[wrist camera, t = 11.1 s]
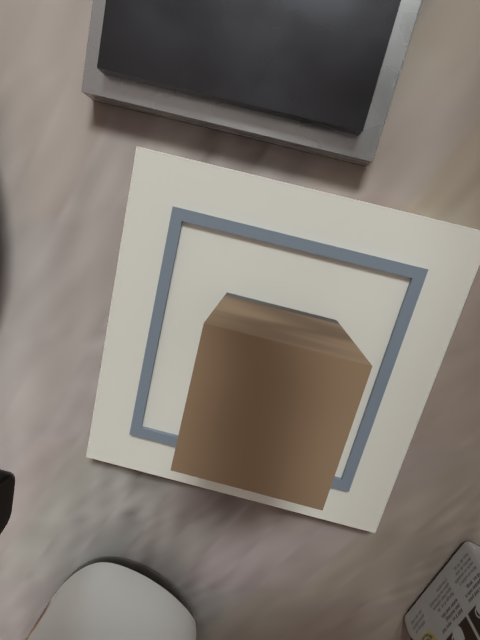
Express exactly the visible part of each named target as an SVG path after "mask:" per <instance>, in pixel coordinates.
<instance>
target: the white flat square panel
mask: <svg viewBox="0 0 480 640" xmlns="http://www.w3.org/2000/svg"><path fill="white" fill-rule="evenodd" d="M479 265H480V230H477V229H473V228H469V227H465V226H461V225H457V224H453V223H449V222H445V221H441V220H437V219H432V218H428V217H424V216H420V215H416V214H412V213H408V212H404V211H400V210H396V209H391V208H387V207H383V206H379V205H375V204H371V203H367V202H363V201H359V200H355V199H351V198H346V197H342V196H338V195H334V194H330V193H326V192H322V191H318V190H314V189H310V188H306V187H301V186H297V185H293V184H289V183H285V182H281V181H277V180H273V179H269V178H265V177H260V176H256V175H252V174H248V173H244V172H240V171H236V170H232V169H228V168H224V167H220V166H215V165H211V164H207V163H203V162H199V161H195V160H191V159H187V158H183V157H179V156H175V155H170V154H166V153H162V152H158V151H154V150H150V149H146V148H142V147H138V146H137V147H136V154H135V160H134V166H133V172H132V178H131V184H130V190H129V197H128V203H127V209H126V215H125V221H124V227H123V234H122V240H121V246H120V252H119V258H118V264H117V270H116V277H115V283H114V289H113V295H112V301H111V307H110V314H109V320H108V326H107V332H106V338H105V344H104V351H103V357H102V363H101V369H100V375H99V381H98V387H97V394H96V400H95V406H94V412H93V418H92V424H91V431H90V437H89V443H88V449H87V455H86V457H88V458H92V459H96V460H100V461H103V462H107V463H111V464H115V465H119V466H122V467H126V468H130V469H134V470H138V471H141V472H145V473H149V474H153V475H157V476H160V477H164V478H168V479H172V480H175V481H179V482H183V483H187V484H191V485H194V486H198V487H202V488H206V489H210V490H213V491H217V492H221V493H225V494H229V495H232V496H236V497H240V498H244V499H247V500H251V501H255V502H259V503H263V504H266V505H270V506H274V507H278V508H282V509H285V510H289V511H293V512H297V513H301V514H304V515H308V516H312V517H316V518H319V519H323V520H327V521H331V522H335V523H338V524H342V525H346V526H350V527H354V528H357V529H361V530H365V531H369V532H373V533H375V532H376V530H377V527H378V525H379V522H380V519H381V517H382V514H383V512H384V509H385V507H386V504H387V501H388V499H389V496H390V494H391V491H392V489H393V486H394V483H395V481H396V478H397V476H398V473H399V471H400V468H401V465H402V463H403V460H404V458H405V455H406V453H407V450H408V447H409V445H410V442H411V440H412V437H413V435H414V432H415V429H416V427H417V424H418V422H419V419H420V417H421V414H422V411H423V409H424V406H425V404H426V401H427V399H428V396H429V393H430V391H431V388H432V386H433V383H434V381H435V378H436V375H437V373H438V370H439V368H440V365H441V363H442V360H443V357H444V355H445V352H446V350H447V347H448V345H449V342H450V339H451V337H452V334H453V332H454V329H455V327H456V324H457V321H458V319H459V316H460V314H461V311H462V309H463V306H464V303H465V301H466V298H467V296H468V293H469V291H470V288H471V285H472V283H473V280H474V278H475V275H476V273H477V270H478V267H479ZM227 292H228V293H232V294H236V295H239V296H243V297H247V298H251V299H255V300H259V301H263V302H267V303H271V304H275V305H279V306H283V307H287V308H291V309H295V310H299V311H303V312H307V313H311V314H315V315H318V316H322V317H326V318H330V319H334V320H337V321H338V322H339V324H340V325H341V326H342V328H343V329H344V330H345V331H346V333H347V334H348V335H349V337H350V338H351V339H352V340H353V342H354V343H355V344H356V346H357V347H358V348H359V349H360V351H361V352H362V353H363V355H364V356H365V357H366V358H367V360H368V361H369V362H370V364H371V365H372V369H371V372H370V375H369V378H368V381H367V384H366V387H365V389H364V392H363V395H362V398H361V401H360V404H359V407H358V410H357V413H356V415H355V418H354V421H353V424H352V427H351V430H350V433H349V436H348V439H347V442H346V444H345V447H344V450H343V453H342V456H341V459H340V462H339V465H338V468H337V470H336V473H335V476H334V479H333V482H332V485H331V488H330V491H329V494H328V497H327V499H326V502H325V505H324V508H323V511H322V510H318V509H315V508H311V507H307V506H303V505H300V504H296V503H292V502H288V501H284V500H281V499H277V498H273V497H269V496H266V495H262V494H258V493H254V492H250V491H247V490H243V489H239V488H235V487H232V486H228V485H224V484H220V483H216V482H213V481H209V480H205V479H201V478H198V477H194V476H190V475H186V474H182V473H179V472H175V471H171V466H172V461H173V457H174V452H175V448H176V443H177V439H178V435H179V430H180V426H181V421H182V417H183V413H184V408H185V404H186V399H187V395H188V390H189V386H190V382H191V377H192V373H193V368H194V364H195V359H196V355H197V351H198V346H199V342H200V337H201V333H202V328H203V324H204V322H205V321H206V319H207V318H208V317H209V315H210V314H211V313H212V311H213V310H214V309H215V307H216V306H217V305H218V303H219V302H220V301H221V299H222V298H223V297H224V295H225V294H226V293H227Z"/></svg>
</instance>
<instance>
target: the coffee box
mask: <svg viewBox="0 0 480 640" xmlns="http://www.w3.org/2000/svg"><path fill="white" fill-rule="evenodd" d="M405 624H406V627H407V630H408V633H409V636H410V638H411V640H480V547H479V546H477V545H475V544H473V543H471V542H469V541H467V542H465V543H464V544H463V545H462V546H461V547H460V548H459V550H458V551H457V552H456V553H455V554H454V556H453V557H452V558H451V559H450V561H449V562H448V563H447V565H446V566H445V567H444V568H443V569H442V571H441V572H440V573H439V574H438V575H437V577H436V578H435V579H434V580H433V582H432V583H431V584H430V585H429V587H428V588H427V589H426V590H425V591H424V593H423V594H422V595H421V596H420V598H419V599H418V600H417V601H416V603H415V604H414V605H413V606H412V608H411V609H410V610H409V611H408V613H407V614H406V615H405Z"/></svg>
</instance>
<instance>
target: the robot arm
mask: <svg viewBox="0 0 480 640" xmlns="http://www.w3.org/2000/svg"><path fill="white" fill-rule="evenodd" d="M14 486H15V476H14V474H13V473H11V472H8V471H4V470H1V469H0V534H1V532H2V531H3V529H4V528H5V526H6V525H7V523H8V521H9V518H10V515H11V512H12V504H13V495H14Z"/></svg>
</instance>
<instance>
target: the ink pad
mask: <svg viewBox="0 0 480 640" xmlns="http://www.w3.org/2000/svg"><path fill="white" fill-rule="evenodd" d="M420 4H421V0H93V5H92V12H91V20H90V28H89V36H88V44H87V52H86V60H85V68H84V76H83V84H82V92H83V93H84V94H86V95H87V96H88V97H90V98H91V99H92V100H95V101H99V102H103V103H107V104H112V105H116V106H120V107H124V108H128V109H132V110H136V111H140V112H145V113H149V114H153V115H157V116H161V117H165V118H169V119H173V120H178V121H182V122H186V123H190V124H194V125H198V126H202V127H207V128H211V129H215V130H219V131H223V132H227V133H231V134H235V135H240V136H244V137H248V138H252V139H256V140H260V141H264V142H268V143H273V144H277V145H281V146H285V147H289V148H293V149H297V150H302V151H306V152H310V153H314V154H318V155H322V156H326V157H330V158H335V159H339V160H343V161H347V162H351V163H355V164H359V165H363V166H367V165H369V164H370V163H372V162H373V159H374V156H375V152H376V149H377V146H378V143H379V139H380V136H381V133H382V129H383V126H384V123H385V119H386V116H387V113H388V110H389V106H390V103H391V100H392V96H393V93H394V90H395V86H396V83H397V80H398V76H399V73H400V70H401V67H402V63H403V60H404V57H405V53H406V50H407V47H408V43H409V40H410V37H411V33H412V30H413V27H414V24H415V20H416V17H417V14H418V10H419V7H420Z"/></svg>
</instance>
